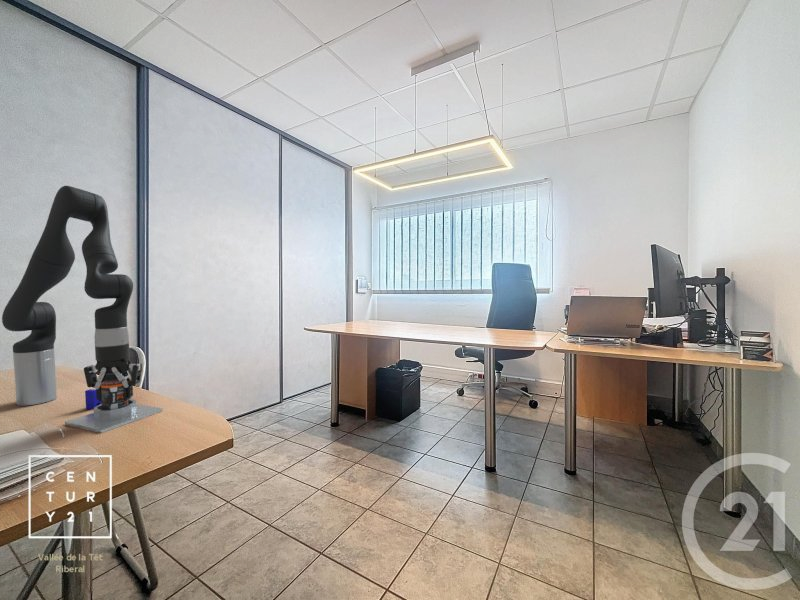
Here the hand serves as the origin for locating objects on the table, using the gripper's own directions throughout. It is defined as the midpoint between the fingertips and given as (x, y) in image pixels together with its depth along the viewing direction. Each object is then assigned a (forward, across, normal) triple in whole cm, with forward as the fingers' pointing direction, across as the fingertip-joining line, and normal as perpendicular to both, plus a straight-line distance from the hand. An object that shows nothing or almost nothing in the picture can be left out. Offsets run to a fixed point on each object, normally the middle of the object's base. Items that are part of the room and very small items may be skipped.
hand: (115, 399), depth 98 cm
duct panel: (+5, 0, 0) cm, 5 cm away
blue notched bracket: (+6, +11, -15) cm, 20 cm away
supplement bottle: (+3, 0, 0) cm, 3 cm away
